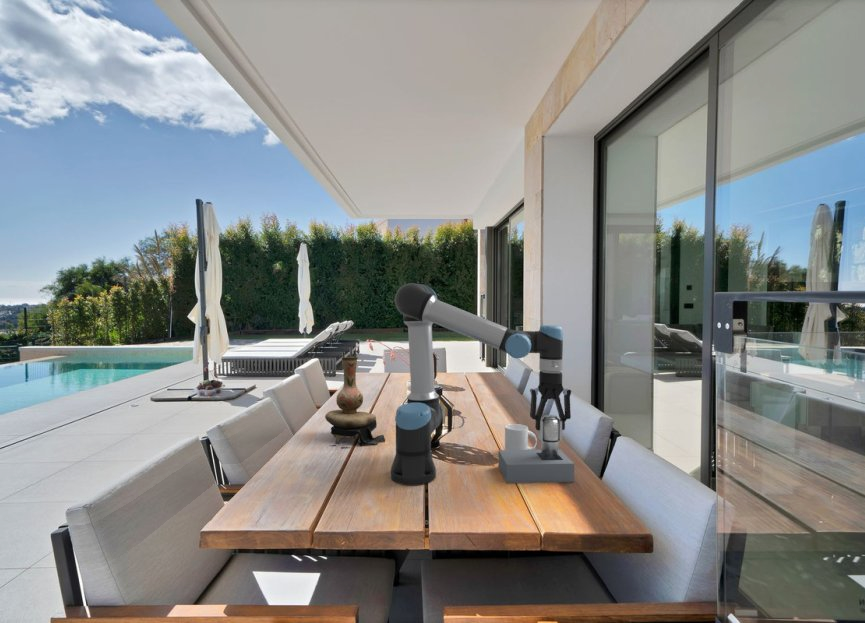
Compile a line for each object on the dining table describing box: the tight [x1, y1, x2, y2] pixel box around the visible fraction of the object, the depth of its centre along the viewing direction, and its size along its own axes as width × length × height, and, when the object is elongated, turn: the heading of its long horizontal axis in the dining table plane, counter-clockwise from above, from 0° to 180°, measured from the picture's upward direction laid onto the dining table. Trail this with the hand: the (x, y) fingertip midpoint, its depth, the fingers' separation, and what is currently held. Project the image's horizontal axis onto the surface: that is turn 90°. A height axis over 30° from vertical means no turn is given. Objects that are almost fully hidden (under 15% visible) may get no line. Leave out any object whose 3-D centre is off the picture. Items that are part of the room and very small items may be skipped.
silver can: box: [540, 414, 560, 458], centre depth 150 cm, size 6×6×13 cm
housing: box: [497, 448, 575, 484], centre depth 149 cm, size 22×14×6 cm, turn 93°
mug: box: [504, 423, 538, 450], centre depth 168 cm, size 9×12×11 cm
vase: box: [324, 356, 386, 449], centre depth 188 cm, size 24×22×35 cm
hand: (549, 439), depth 150 cm, fingers closed on silver can, 6 cm apart
